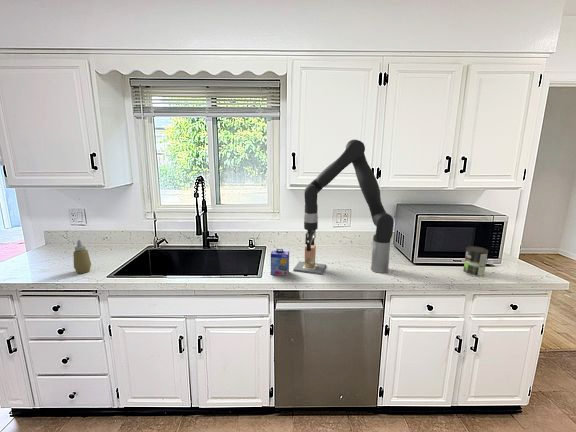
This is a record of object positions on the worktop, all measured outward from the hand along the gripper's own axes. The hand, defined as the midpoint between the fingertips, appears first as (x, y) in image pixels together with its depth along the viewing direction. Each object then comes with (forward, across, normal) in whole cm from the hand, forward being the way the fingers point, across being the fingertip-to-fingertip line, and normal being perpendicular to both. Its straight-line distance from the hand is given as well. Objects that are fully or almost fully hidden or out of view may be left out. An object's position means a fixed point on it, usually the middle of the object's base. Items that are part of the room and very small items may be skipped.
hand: (310, 248), depth 176 cm
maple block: (+11, 0, 0) cm, 11 cm away
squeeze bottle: (+11, -44, +117) cm, 126 cm away
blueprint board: (+12, 0, 0) cm, 12 cm away
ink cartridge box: (+12, -12, +14) cm, 22 cm away
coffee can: (+13, +22, -88) cm, 91 cm away
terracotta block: (+5, 0, 0) cm, 5 cm away
